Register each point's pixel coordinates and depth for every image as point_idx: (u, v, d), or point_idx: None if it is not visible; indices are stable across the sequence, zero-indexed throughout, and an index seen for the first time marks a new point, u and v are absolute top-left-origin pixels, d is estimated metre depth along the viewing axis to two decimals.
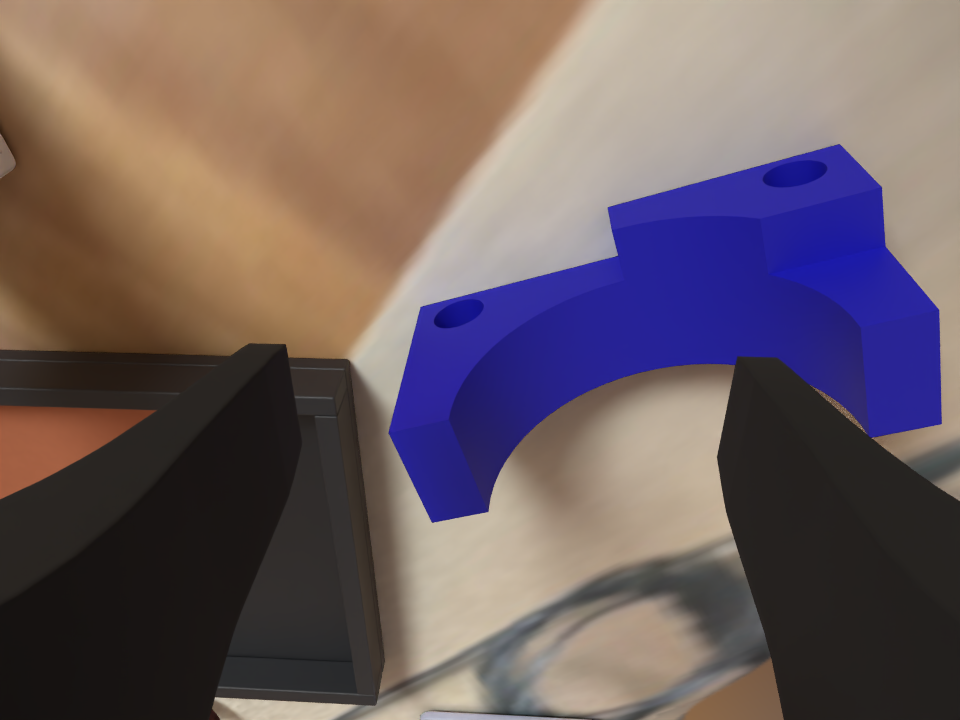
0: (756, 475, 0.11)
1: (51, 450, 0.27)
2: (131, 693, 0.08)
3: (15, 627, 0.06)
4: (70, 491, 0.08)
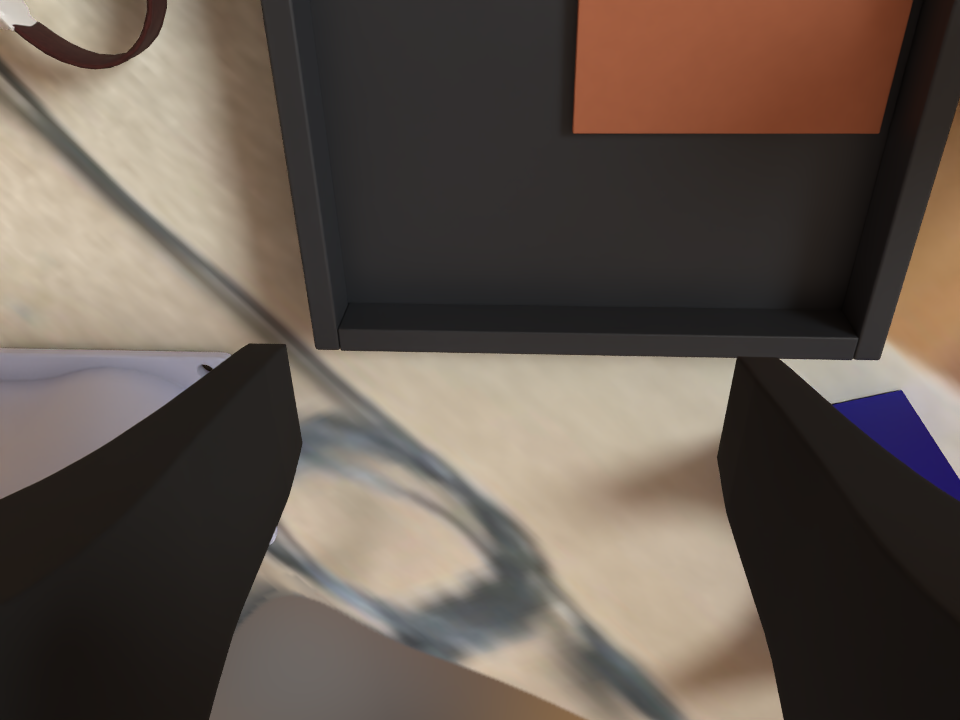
0: (756, 475, 0.11)
1: None
2: (131, 693, 0.08)
3: (15, 627, 0.06)
4: (70, 490, 0.08)
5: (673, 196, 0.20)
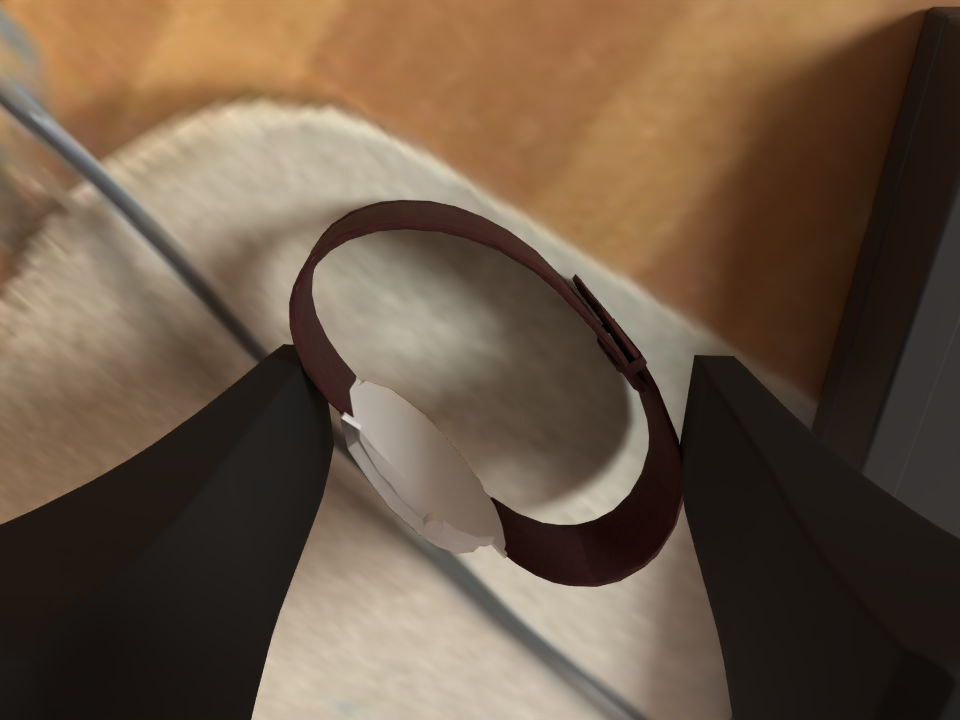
0: (710, 473, 0.11)
1: None
2: (183, 696, 0.08)
3: (83, 630, 0.06)
4: (120, 493, 0.08)
5: None
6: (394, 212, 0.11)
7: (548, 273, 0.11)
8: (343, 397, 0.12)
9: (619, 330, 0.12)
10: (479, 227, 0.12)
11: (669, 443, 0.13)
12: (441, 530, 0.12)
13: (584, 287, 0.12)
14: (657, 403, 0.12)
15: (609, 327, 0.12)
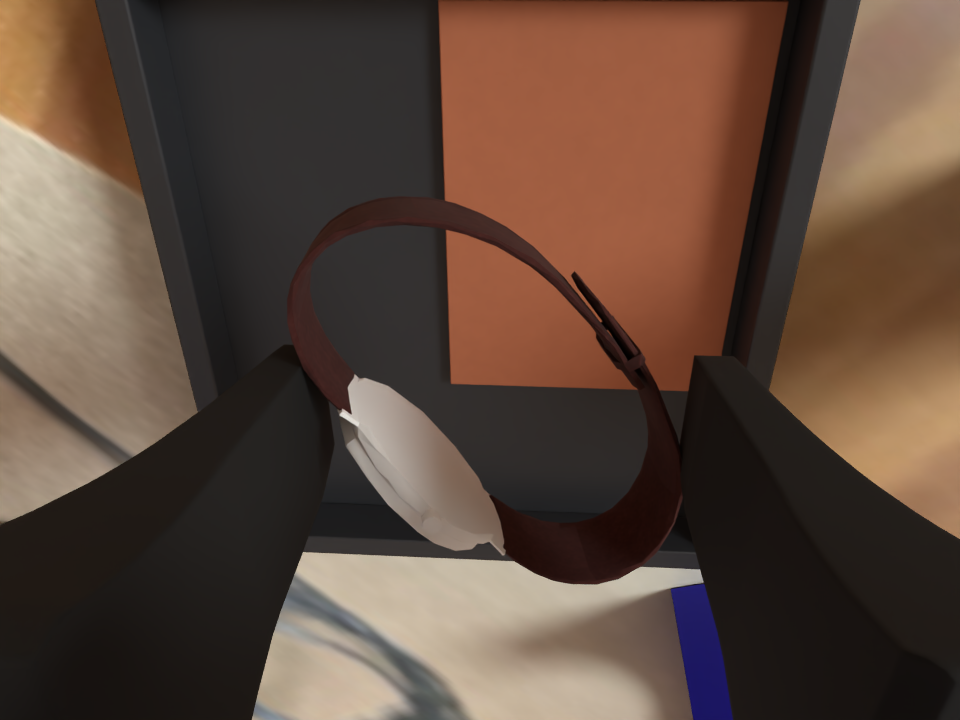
0: (709, 473, 0.11)
1: (643, 233, 0.19)
2: (184, 696, 0.08)
3: (83, 630, 0.06)
4: (121, 492, 0.08)
5: (543, 429, 0.23)
6: (392, 208, 0.11)
7: (547, 269, 0.11)
8: (341, 394, 0.12)
9: (618, 327, 0.12)
10: (478, 223, 0.11)
11: (668, 439, 0.13)
12: (439, 527, 0.11)
13: (583, 284, 0.12)
14: (656, 400, 0.12)
15: (608, 324, 0.12)
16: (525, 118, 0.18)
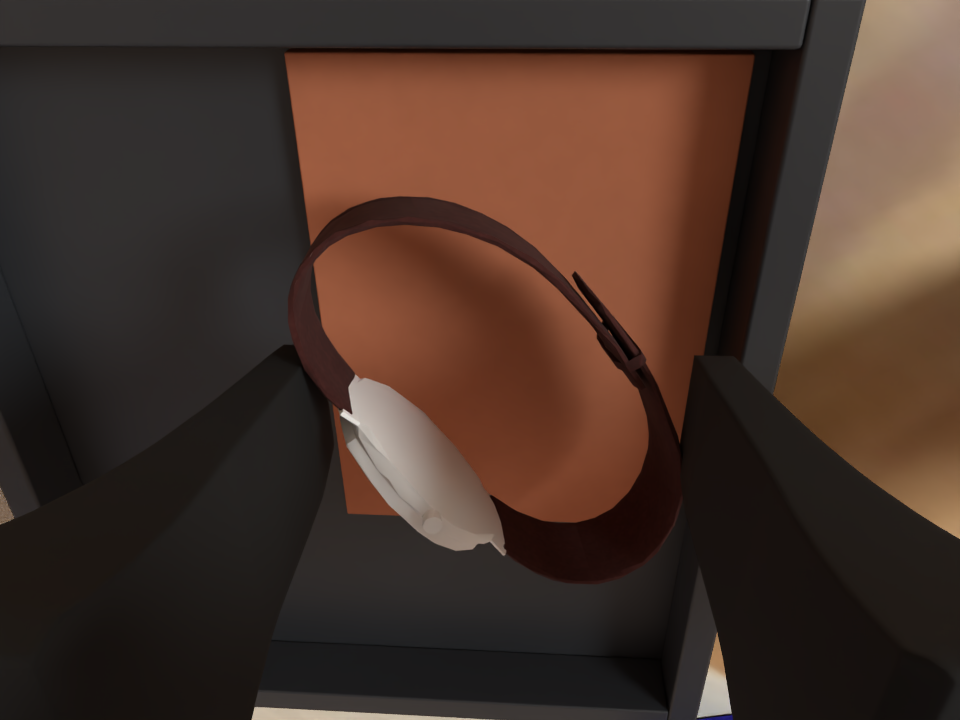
0: (709, 473, 0.11)
1: (575, 343, 0.15)
2: (183, 696, 0.08)
3: (83, 630, 0.06)
4: (121, 492, 0.08)
5: (468, 562, 0.19)
6: (393, 208, 0.11)
7: (548, 269, 0.11)
8: (342, 394, 0.12)
9: (619, 327, 0.12)
10: (478, 223, 0.11)
11: (669, 440, 0.13)
12: (440, 527, 0.11)
13: (584, 283, 0.12)
14: (657, 400, 0.12)
15: (609, 324, 0.12)
16: None
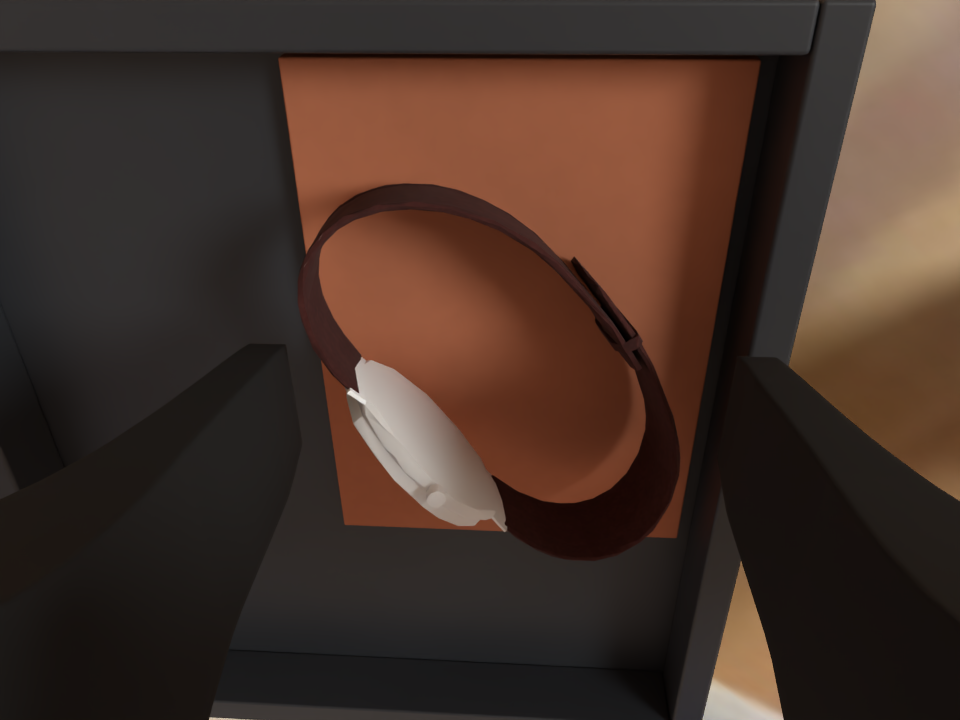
0: (756, 475, 0.11)
1: (576, 353, 0.15)
2: (131, 693, 0.08)
3: (15, 627, 0.06)
4: (70, 491, 0.08)
5: (467, 573, 0.18)
6: (399, 194, 0.12)
7: (547, 253, 0.12)
8: (349, 373, 0.12)
9: (616, 309, 0.12)
10: (481, 208, 0.12)
11: (665, 420, 0.13)
12: (443, 501, 0.12)
13: (582, 268, 0.13)
14: (653, 381, 0.13)
15: (606, 306, 0.12)
16: (409, 211, 0.13)
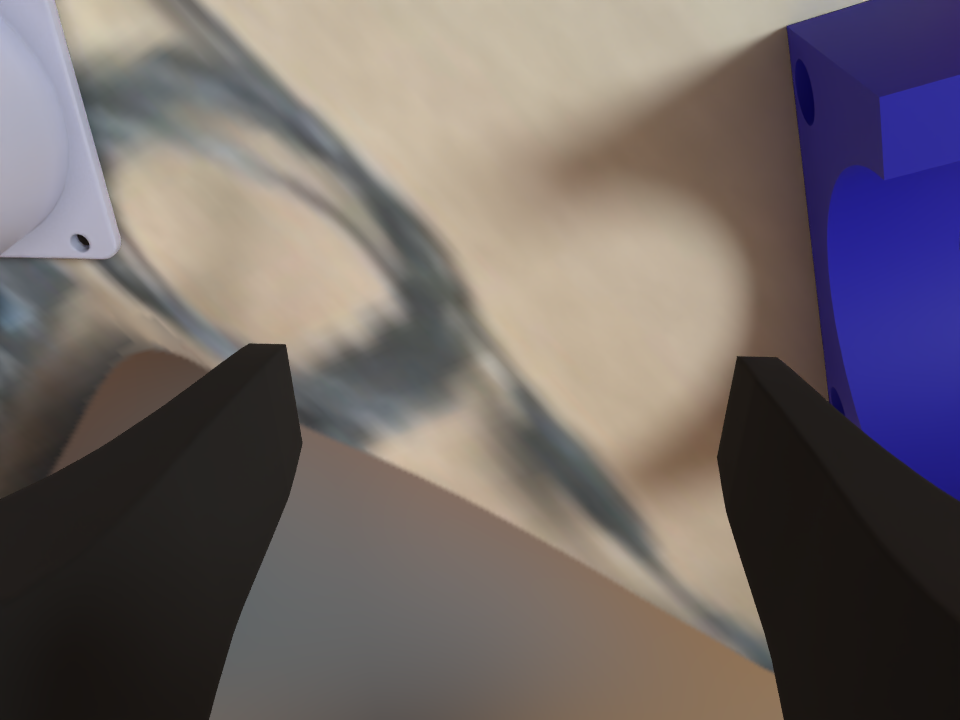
0: (756, 475, 0.11)
1: None
2: (131, 693, 0.08)
3: (15, 627, 0.06)
4: (70, 491, 0.08)
5: None
6: None
7: None
8: None
9: None
10: None
11: None
12: None
13: None
14: None
15: None
16: None
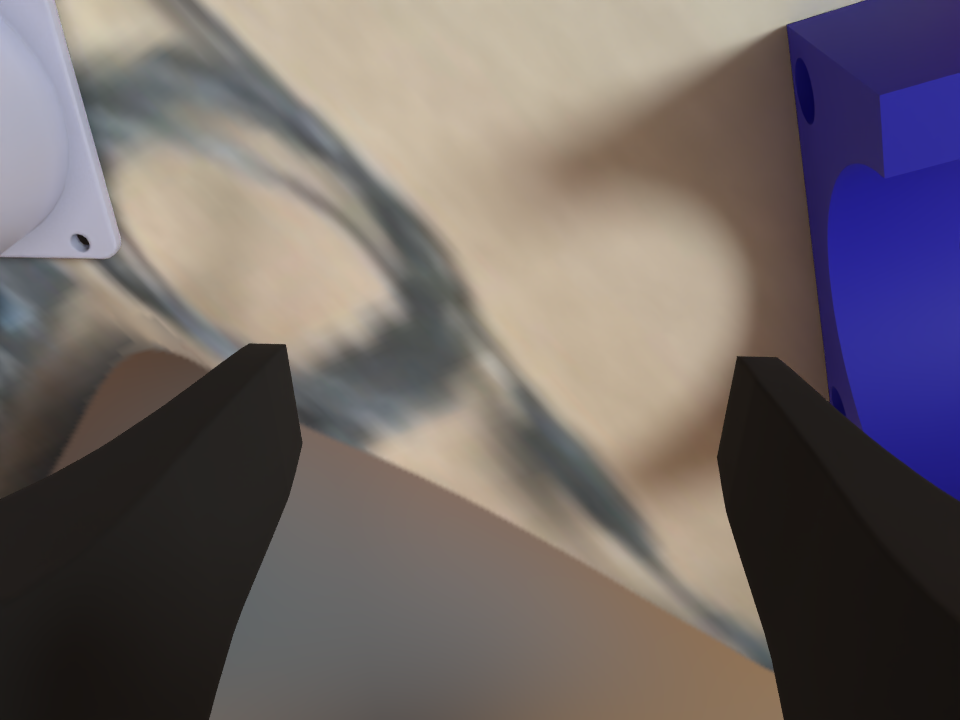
0: (756, 475, 0.11)
1: None
2: (131, 693, 0.08)
3: (14, 627, 0.06)
4: (70, 491, 0.08)
5: None
6: None
7: None
8: None
9: None
10: None
11: None
12: None
13: None
14: None
15: None
16: None
